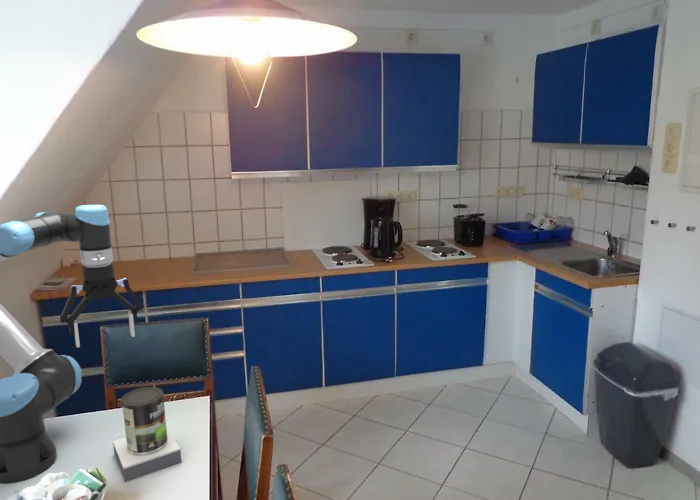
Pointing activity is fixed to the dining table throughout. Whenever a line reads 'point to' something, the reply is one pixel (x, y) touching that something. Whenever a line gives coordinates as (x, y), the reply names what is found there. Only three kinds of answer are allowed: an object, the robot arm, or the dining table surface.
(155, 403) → the coffee can
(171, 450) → the plinth
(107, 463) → the dining table surface
